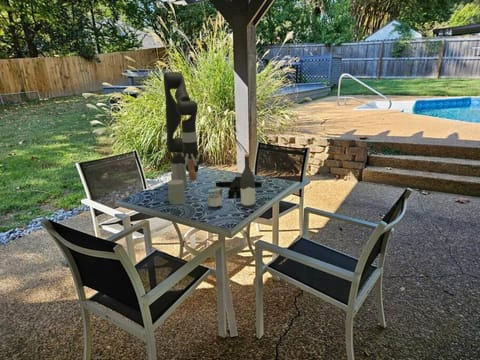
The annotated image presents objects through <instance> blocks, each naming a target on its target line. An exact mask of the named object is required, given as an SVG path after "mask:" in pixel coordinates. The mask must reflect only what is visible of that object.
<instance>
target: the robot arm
mask: <svg viewBox="0 0 480 360" xmlns="http://www.w3.org/2000/svg"><path fill="white" fill-rule="evenodd" d="M185 82H186V81H185V77H184V75H183V73H182V72H180V71H171V72H170V71H169V72H164V74H163V88H164V95H165V96H164V98H165V120H166V121H165V122H166V149H167V152H168V153H171V154H173V153H177V154H176V155H174V156H172V157H170V166H171V174H170V176H171V177H170V179H171V180H177V179H179V180H183V181H184V189H185V188H187V187H188V181H187V180H188V179H187V173H189V170H188V159H193V162H194V164H195V172H196V173H197V172H198V171H199V165H200V164H201V165H202V162H203V158H204V156H205V154H204V152H203V153H202V152H199V150H198V135H197V128H196V120H197V115H198V109H199V105H198V103H197V102H196V101H195V100H191V97H190V95H189V93H188V91H187V85H186V83H185ZM171 90H175V93H174V96H173V94H172V93H171V92H172V91H171ZM174 97H175V98H174ZM183 116H184V117H185V116H189V117H188V118H186V119H184V120H182V117H183ZM180 124H181V132H182V134H181V135H182V136H181V137H174V134H175V132H176V130H177V129H178V127H179V126H180Z"/></svg>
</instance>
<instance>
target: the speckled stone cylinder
mask: <svg viewBox="0 0 480 360" xmlns="http://www.w3.org/2000/svg"><path fill="white" fill-rule="evenodd" d="M166 183H167V192H168V199H169V200H168V201H169V204H170V205H175V206H176V205H182V204H184V203H185V202H187V201H186V193H185V188H184V181H183V180H179V179H177V180H172V179H171V180H169V181H167V182H166Z"/></svg>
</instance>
